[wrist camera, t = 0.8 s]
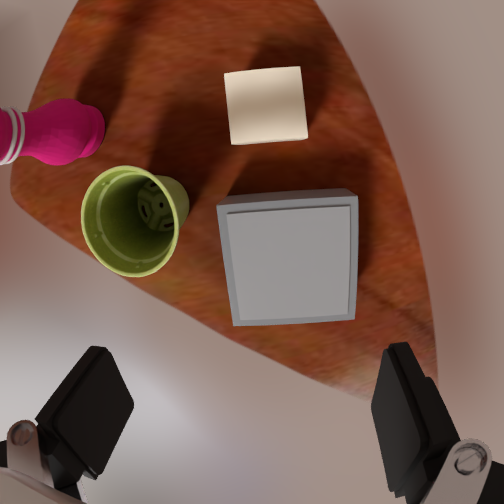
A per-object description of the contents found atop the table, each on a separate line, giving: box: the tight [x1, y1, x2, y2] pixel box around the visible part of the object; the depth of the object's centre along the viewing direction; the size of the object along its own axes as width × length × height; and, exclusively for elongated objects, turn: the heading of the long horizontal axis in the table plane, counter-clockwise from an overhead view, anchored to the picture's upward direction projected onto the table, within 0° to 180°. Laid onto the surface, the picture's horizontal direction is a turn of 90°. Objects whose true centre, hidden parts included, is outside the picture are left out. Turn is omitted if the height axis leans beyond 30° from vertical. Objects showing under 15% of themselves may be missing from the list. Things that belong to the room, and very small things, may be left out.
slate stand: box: [217, 188, 358, 326], centre depth 29 cm, size 12×12×5 cm
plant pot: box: [81, 166, 189, 277], centre depth 27 cm, size 9×9×9 cm
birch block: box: [224, 66, 308, 145], centre depth 24 cm, size 6×6×6 cm
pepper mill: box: [0, 99, 105, 165], centre depth 19 cm, size 7×7×20 cm
